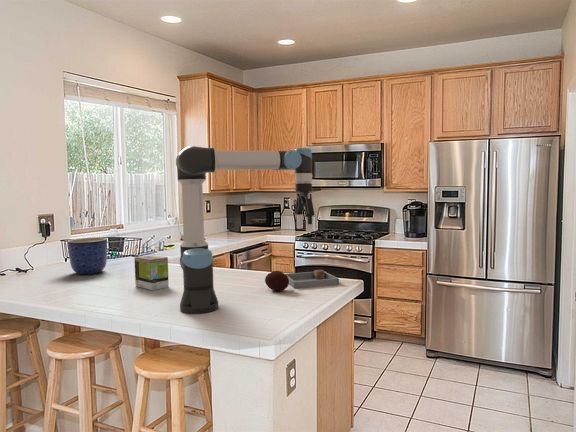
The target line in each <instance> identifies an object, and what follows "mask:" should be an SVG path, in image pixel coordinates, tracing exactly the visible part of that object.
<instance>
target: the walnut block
mask: <svg viewBox="0 0 576 432" xmlns="http://www.w3.org/2000/svg"><path fill="white" fill-rule="evenodd" d="M324 271H325V270H323V269H316V270H313V272H314V278H315V279H317V280H319V279H324Z"/></svg>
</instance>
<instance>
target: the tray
mask: <svg viewBox="0 0 576 432" xmlns="http://www.w3.org/2000/svg"><path fill="white" fill-rule="evenodd" d="M323 271H324V279H319V280H317V279H315V278H314V271H305V272H294V273H293V272H292V273H285V274H286V275H287V277H288V279H289V285H288V286H290V287H291V288H293V289H306V288H317V287H327V286H338V285H340V281H339V280H340V279H339V278H338V277H337V276H334V275H333V274H330V273H328V272H327V271H325V270H323Z"/></svg>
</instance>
